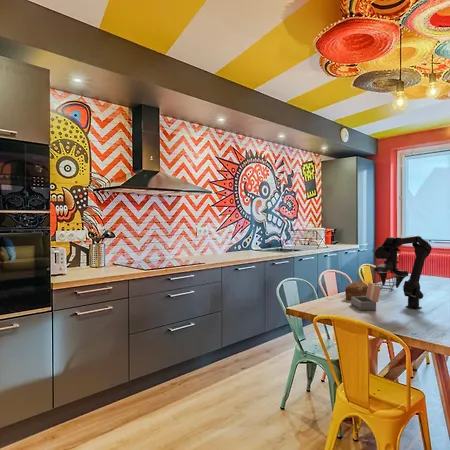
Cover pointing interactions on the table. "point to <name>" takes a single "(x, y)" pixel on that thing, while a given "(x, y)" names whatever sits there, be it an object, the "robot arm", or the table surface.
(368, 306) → the storage box
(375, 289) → the lid
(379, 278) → the geometric lantern
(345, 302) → the table surface
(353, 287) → the bread
